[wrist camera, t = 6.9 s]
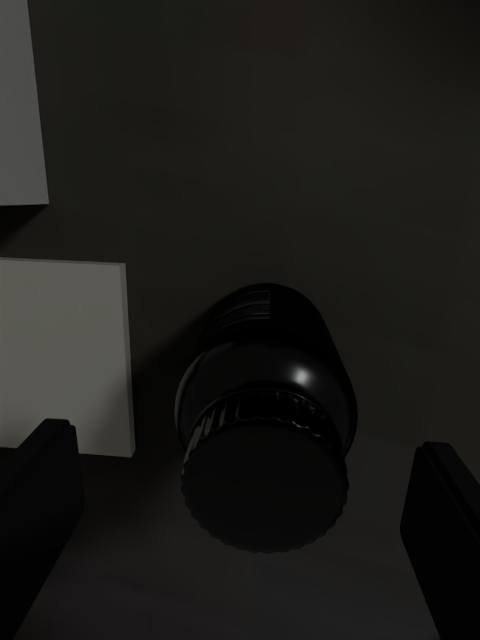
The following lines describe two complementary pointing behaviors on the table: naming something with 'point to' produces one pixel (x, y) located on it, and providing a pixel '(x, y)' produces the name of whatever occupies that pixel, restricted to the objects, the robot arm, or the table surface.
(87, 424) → the pad
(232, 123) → the table surface
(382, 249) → the table surface
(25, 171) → the box
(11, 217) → the table surface
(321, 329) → the supplement bottle
